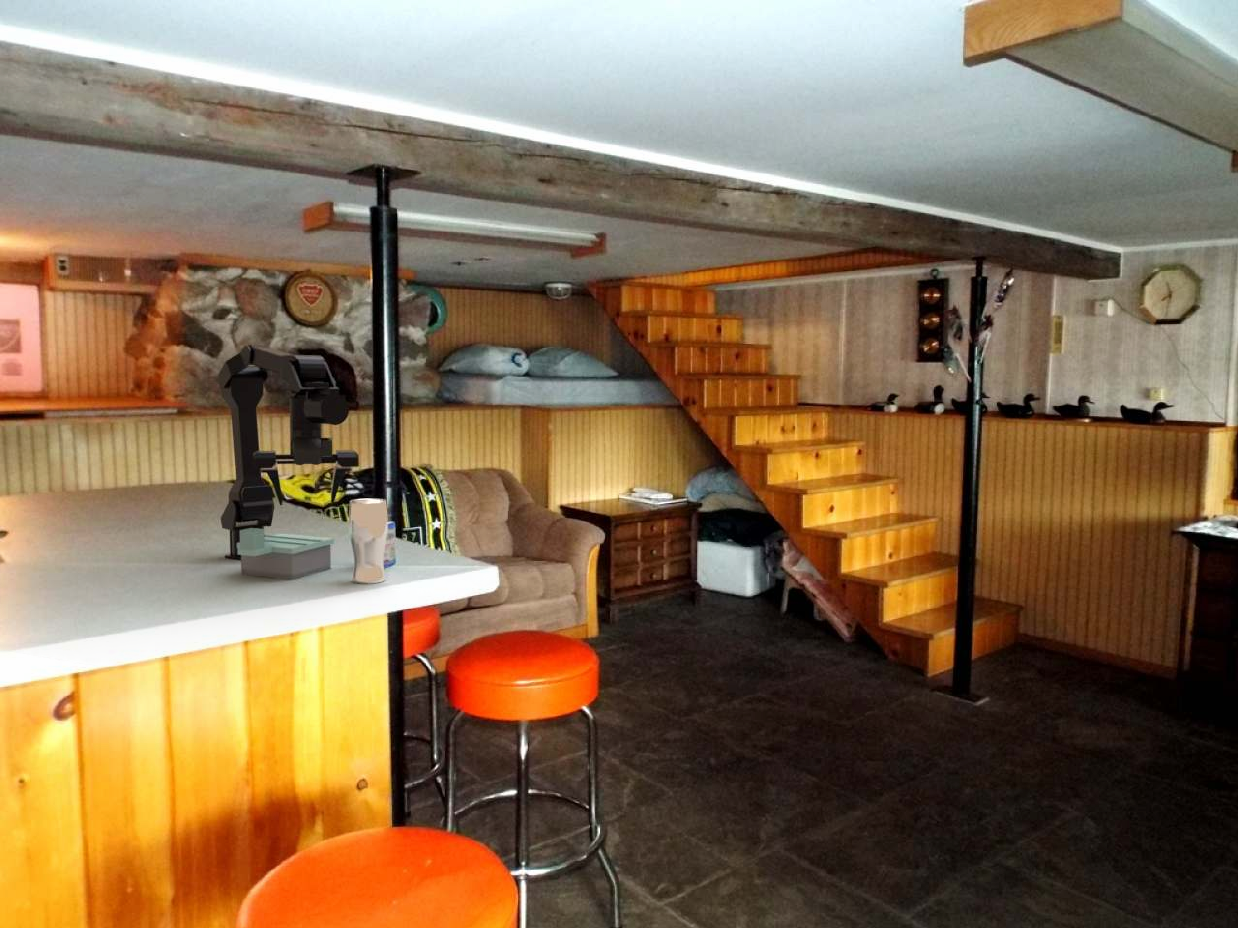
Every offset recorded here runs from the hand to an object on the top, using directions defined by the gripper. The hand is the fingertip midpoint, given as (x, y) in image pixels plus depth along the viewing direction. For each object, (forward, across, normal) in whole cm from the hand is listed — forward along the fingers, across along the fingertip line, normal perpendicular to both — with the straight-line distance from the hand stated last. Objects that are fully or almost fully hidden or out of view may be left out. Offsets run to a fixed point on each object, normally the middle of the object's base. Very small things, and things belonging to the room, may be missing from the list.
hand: (306, 504), depth 175 cm
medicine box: (+14, +13, +4) cm, 19 cm away
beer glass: (+14, +10, -9) cm, 19 cm away
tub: (+14, -4, +4) cm, 15 cm away
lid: (+9, -5, +2) cm, 10 cm away
